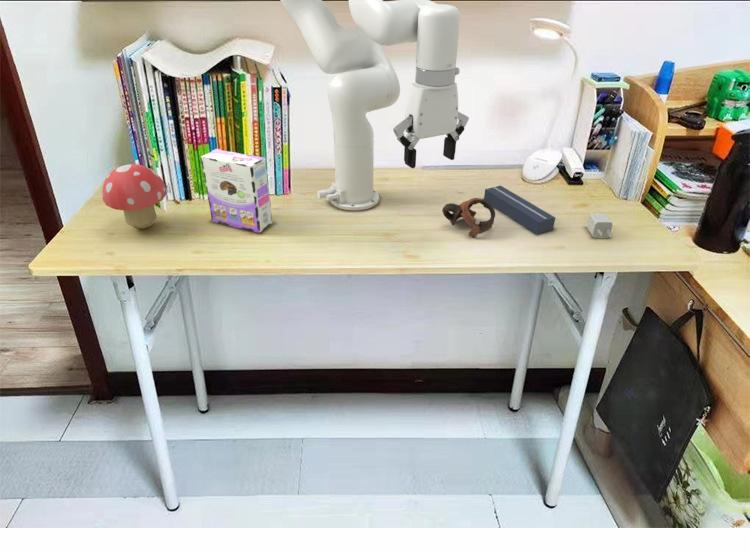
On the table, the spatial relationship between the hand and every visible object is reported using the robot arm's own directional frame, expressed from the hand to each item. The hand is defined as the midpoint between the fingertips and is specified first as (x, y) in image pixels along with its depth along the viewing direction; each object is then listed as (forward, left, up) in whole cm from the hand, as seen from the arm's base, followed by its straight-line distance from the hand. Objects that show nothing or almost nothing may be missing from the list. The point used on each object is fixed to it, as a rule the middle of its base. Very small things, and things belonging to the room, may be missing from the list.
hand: (429, 161), depth 116 cm
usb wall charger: (+37, -17, -19) cm, 45 cm away
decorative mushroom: (-55, +34, -19) cm, 68 cm away
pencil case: (+27, 0, -18) cm, 32 cm away
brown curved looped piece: (+12, 0, -19) cm, 22 cm away
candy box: (-34, +26, -19) cm, 47 cm away
